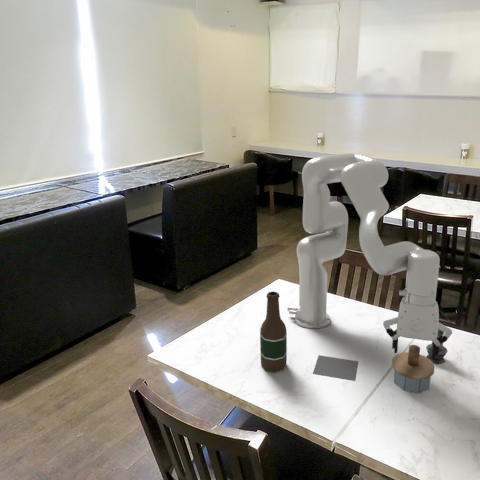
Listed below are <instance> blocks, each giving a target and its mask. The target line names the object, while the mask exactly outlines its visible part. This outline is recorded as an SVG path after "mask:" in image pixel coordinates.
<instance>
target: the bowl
mask: <svg viewBox="0 0 480 480" xmlns="http://www.w3.org/2000/svg"><path fill="white" fill-rule="evenodd" d="M393 375H394V376H393V383H394V384H395V385H396V386H398V387H399V388H400V389H401V390H403V391H406V392H409V393H414V394H418V395H419V394H422V393H424V392H427V391H429V390H430V387H431V378H432V376H431V377H429V378H426V379H412V378H408V377H405V376H402V375H400V374H399V373H397V372H396V371H395V370H394V374H393Z"/></svg>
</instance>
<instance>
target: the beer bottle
mask: <svg viewBox="0 0 480 480" xmlns="http://www.w3.org/2000/svg"><path fill="white" fill-rule="evenodd" d="M266 298H267V301H266V314H265V315H266V316H265V318H264V321H263V322H262V324H261V326H260V328H259V330H260V331H259V332H260V333H259V338H260V339H259V341H260V347H259V348H260V366H261V367H262V368H263V370H264V371H266V372H271V373H278V372H281V371H284V369H285V367H286V366H287V360H288V359H287V358H288V357H287V355H288V354H287V353H288V352H287V351H288V350H287V349H288V347H287V346H288V345H287V342H288V339H287V335H288V333H287V327H286V324H285V322H284V321H283V320H282V318H281V313H280V311H281V310H280V300H279V298H280V293H279V292H277V291H268V292H267V294H266Z"/></svg>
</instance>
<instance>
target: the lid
mask: <svg viewBox="0 0 480 480" xmlns="http://www.w3.org/2000/svg"><path fill="white" fill-rule="evenodd" d="M420 352H421V348H420V346H419V345H416V344H410V345H409V346H408V352H399V353H396V354H395V355H394V356H393V357H392V359H391V367H392V369H393V371H394V372H395V371H396V372H397V373H399V374H400V375H402V376H405V377H408V378H412V379H426V378H429V377H431V378H432V376H433V375H434V374H435V368H436V366H435V364H433V362H432V361H431V360H430V359H428V358H427V357H426V356H425V355H422V354H420Z"/></svg>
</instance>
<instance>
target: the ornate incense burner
mask: <svg viewBox="0 0 480 480" xmlns="http://www.w3.org/2000/svg"><path fill="white" fill-rule="evenodd" d="M444 333H445V332H443V331H441V330H439V329H438V335H437V336H438V337H440V336H441V335H443V334H444ZM432 345H433V341H431V343H430V344H427V345H426V347H425V348H426V353H427V355H426V356H425V357H427V358H428V359H430V360H431V361H432V362H433V364H434V365H443V364H445V363H446V358H445V356H446V355H447V353H448V349H447V347H445V346H444V343H442V344H441V345H440V346H439V351H438V355H435V359H433V358H432Z"/></svg>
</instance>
